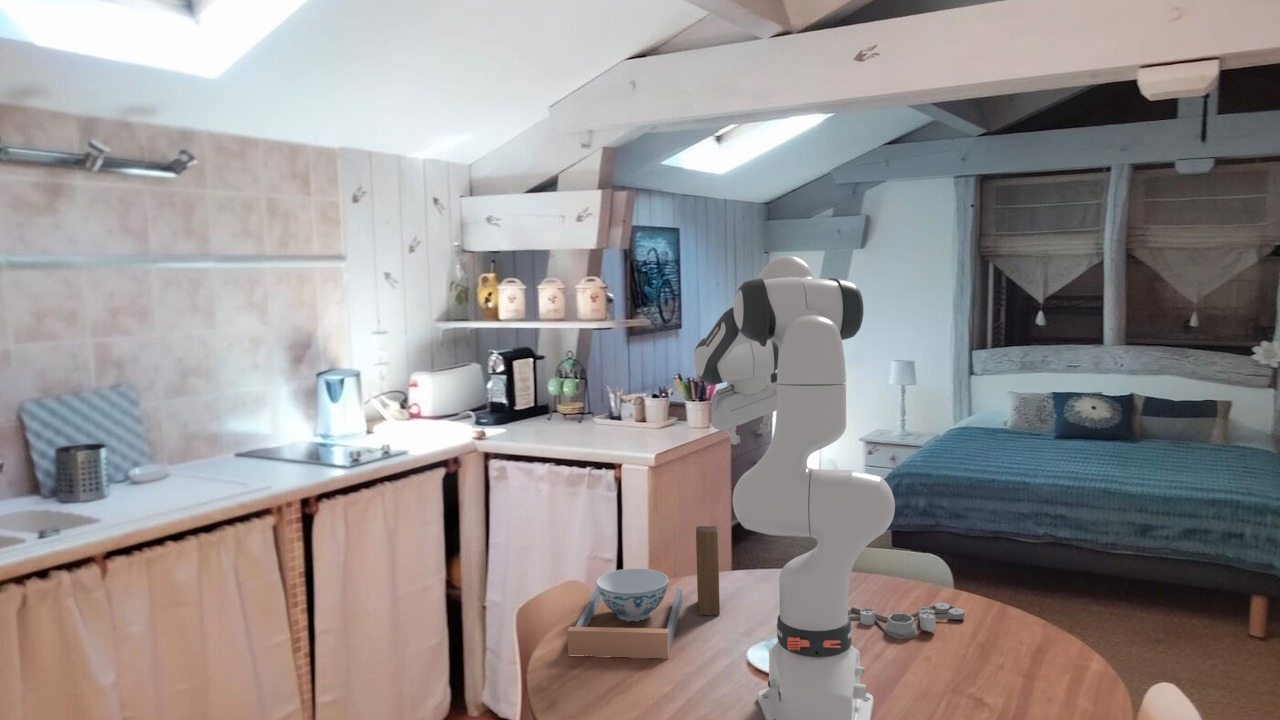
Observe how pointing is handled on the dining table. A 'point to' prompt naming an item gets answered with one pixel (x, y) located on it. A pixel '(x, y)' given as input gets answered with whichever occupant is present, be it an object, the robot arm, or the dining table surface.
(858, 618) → the pulley system
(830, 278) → the robot arm
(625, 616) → the chinaware
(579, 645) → the wooden tray
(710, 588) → the wooden block
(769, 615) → the dining table surface
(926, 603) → the dining table surface
